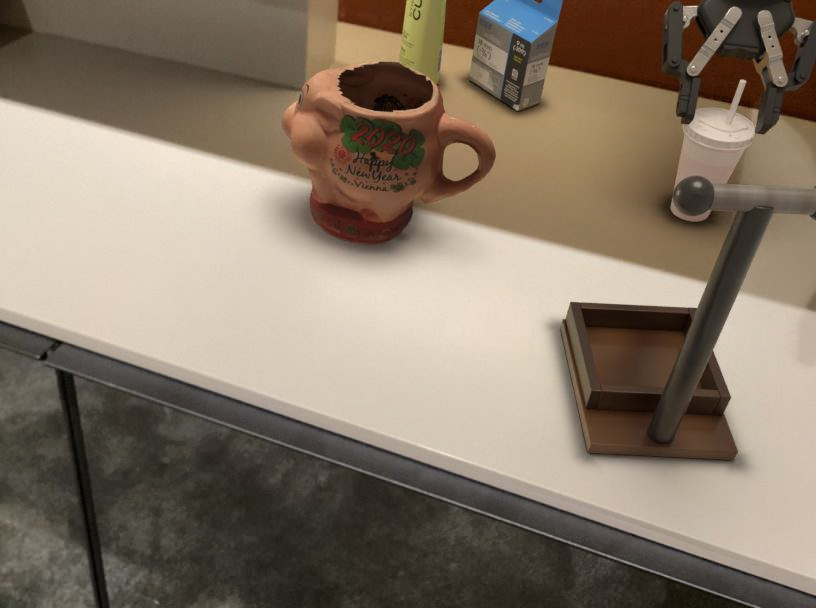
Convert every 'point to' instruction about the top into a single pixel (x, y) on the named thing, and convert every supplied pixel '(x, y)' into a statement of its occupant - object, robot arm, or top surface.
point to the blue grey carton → (514, 49)
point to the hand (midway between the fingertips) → (724, 126)
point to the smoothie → (713, 146)
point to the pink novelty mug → (377, 147)
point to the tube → (423, 36)
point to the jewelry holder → (671, 341)
